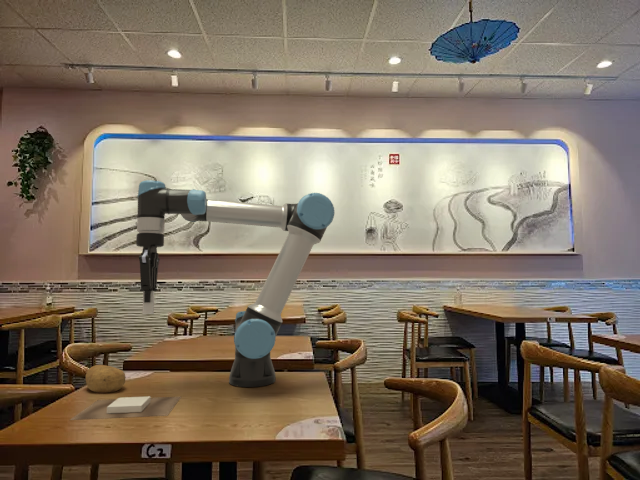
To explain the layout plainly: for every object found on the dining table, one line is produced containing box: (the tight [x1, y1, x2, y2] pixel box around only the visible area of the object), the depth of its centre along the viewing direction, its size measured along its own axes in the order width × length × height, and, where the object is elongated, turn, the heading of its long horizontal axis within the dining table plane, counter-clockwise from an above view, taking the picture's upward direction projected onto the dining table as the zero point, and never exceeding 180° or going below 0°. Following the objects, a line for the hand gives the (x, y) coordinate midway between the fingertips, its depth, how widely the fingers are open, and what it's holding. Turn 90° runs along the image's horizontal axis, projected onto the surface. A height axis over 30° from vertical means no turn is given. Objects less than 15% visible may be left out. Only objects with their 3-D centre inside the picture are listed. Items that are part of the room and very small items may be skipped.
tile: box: [107, 395, 152, 413], centre depth 103 cm, size 8×2×8 cm
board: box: [69, 396, 182, 421], centre depth 104 cm, size 22×16×1 cm
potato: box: [85, 364, 126, 394], centre depth 121 cm, size 10×14×8 cm
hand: (148, 313), depth 118 cm, fingers closed
